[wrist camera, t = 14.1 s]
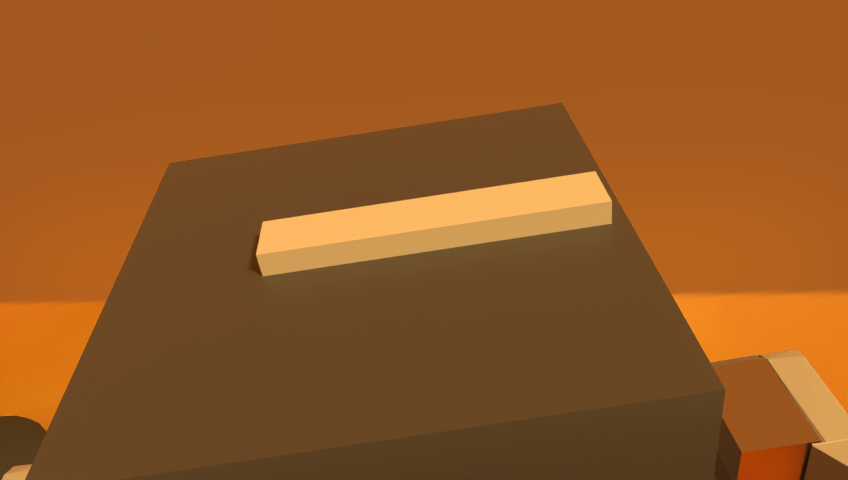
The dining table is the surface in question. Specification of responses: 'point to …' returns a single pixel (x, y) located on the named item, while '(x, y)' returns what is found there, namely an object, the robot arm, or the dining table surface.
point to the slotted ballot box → (390, 321)
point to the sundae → (18, 442)
